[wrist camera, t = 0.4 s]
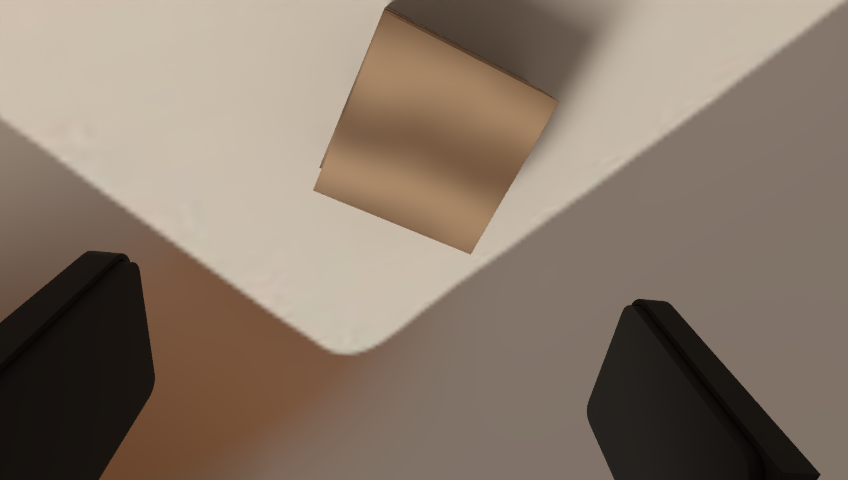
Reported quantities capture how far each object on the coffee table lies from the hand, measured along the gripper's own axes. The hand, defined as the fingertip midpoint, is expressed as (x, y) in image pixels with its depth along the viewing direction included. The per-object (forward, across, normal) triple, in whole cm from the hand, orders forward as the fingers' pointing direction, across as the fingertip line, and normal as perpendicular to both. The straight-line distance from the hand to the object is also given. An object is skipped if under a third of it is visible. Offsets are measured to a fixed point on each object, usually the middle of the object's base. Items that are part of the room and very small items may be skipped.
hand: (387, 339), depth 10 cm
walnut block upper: (+25, -2, +2) cm, 25 cm away
